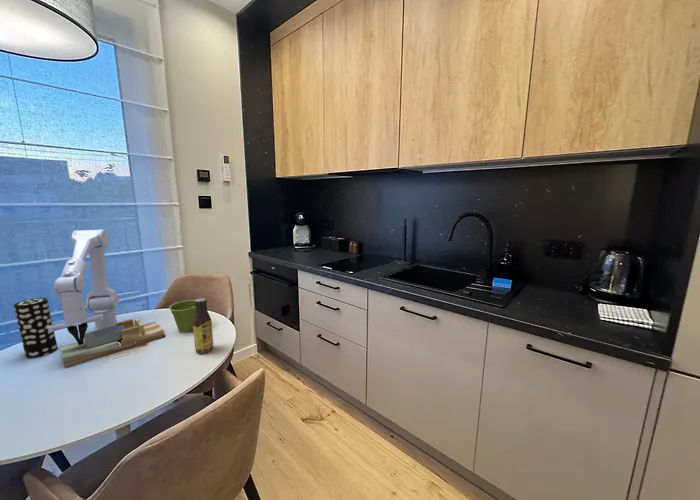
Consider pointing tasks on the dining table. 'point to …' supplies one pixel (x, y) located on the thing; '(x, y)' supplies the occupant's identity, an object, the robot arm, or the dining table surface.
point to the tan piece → (113, 343)
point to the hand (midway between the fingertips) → (80, 343)
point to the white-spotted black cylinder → (35, 327)
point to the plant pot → (184, 314)
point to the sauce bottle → (202, 327)
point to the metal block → (103, 336)
